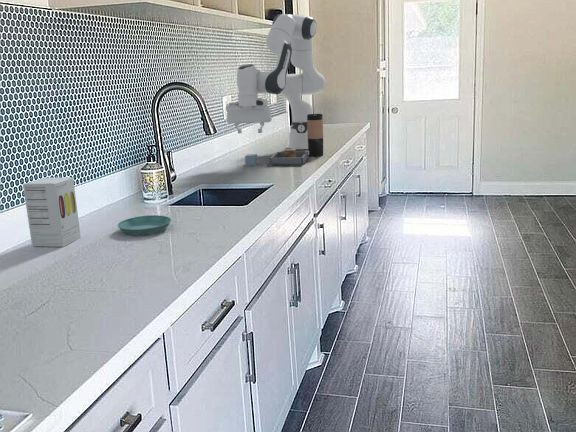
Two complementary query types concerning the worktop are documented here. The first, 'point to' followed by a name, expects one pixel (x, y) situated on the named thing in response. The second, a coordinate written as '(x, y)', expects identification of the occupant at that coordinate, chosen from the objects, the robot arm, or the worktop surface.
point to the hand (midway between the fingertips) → (249, 133)
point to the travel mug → (315, 134)
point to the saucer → (144, 225)
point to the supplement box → (52, 211)
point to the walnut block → (290, 153)
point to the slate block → (251, 159)
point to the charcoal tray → (288, 159)
